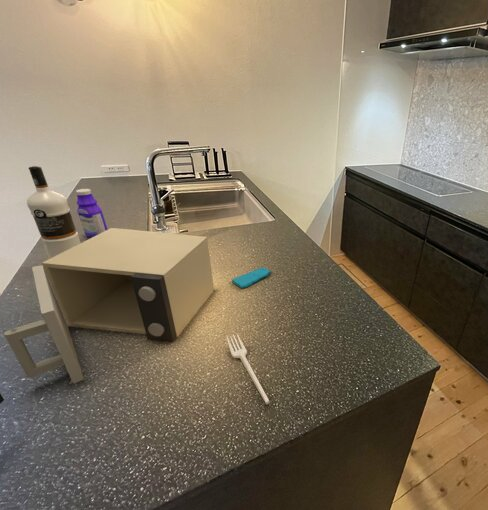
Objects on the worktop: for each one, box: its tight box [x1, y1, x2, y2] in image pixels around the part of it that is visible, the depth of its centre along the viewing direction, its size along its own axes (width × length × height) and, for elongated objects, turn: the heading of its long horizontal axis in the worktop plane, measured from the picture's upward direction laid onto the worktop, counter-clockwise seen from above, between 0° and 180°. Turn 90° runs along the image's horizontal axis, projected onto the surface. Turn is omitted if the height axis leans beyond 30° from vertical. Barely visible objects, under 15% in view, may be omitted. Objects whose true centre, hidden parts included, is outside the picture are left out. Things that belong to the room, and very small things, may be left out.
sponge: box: [231, 266, 272, 289], centre depth 95 cm, size 2×12×6 cm
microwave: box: [41, 227, 215, 343], centre depth 75 cm, size 22×26×17 cm
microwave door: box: [3, 264, 85, 385], centre depth 59 cm, size 7×20×17 cm, turn 45°
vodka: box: [26, 165, 82, 260], centre depth 88 cm, size 9×9×30 cm
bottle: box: [75, 188, 108, 239], centre depth 110 cm, size 7×6×17 cm
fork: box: [226, 332, 271, 405], centre depth 64 cm, size 3×20×2 cm, turn 36°
